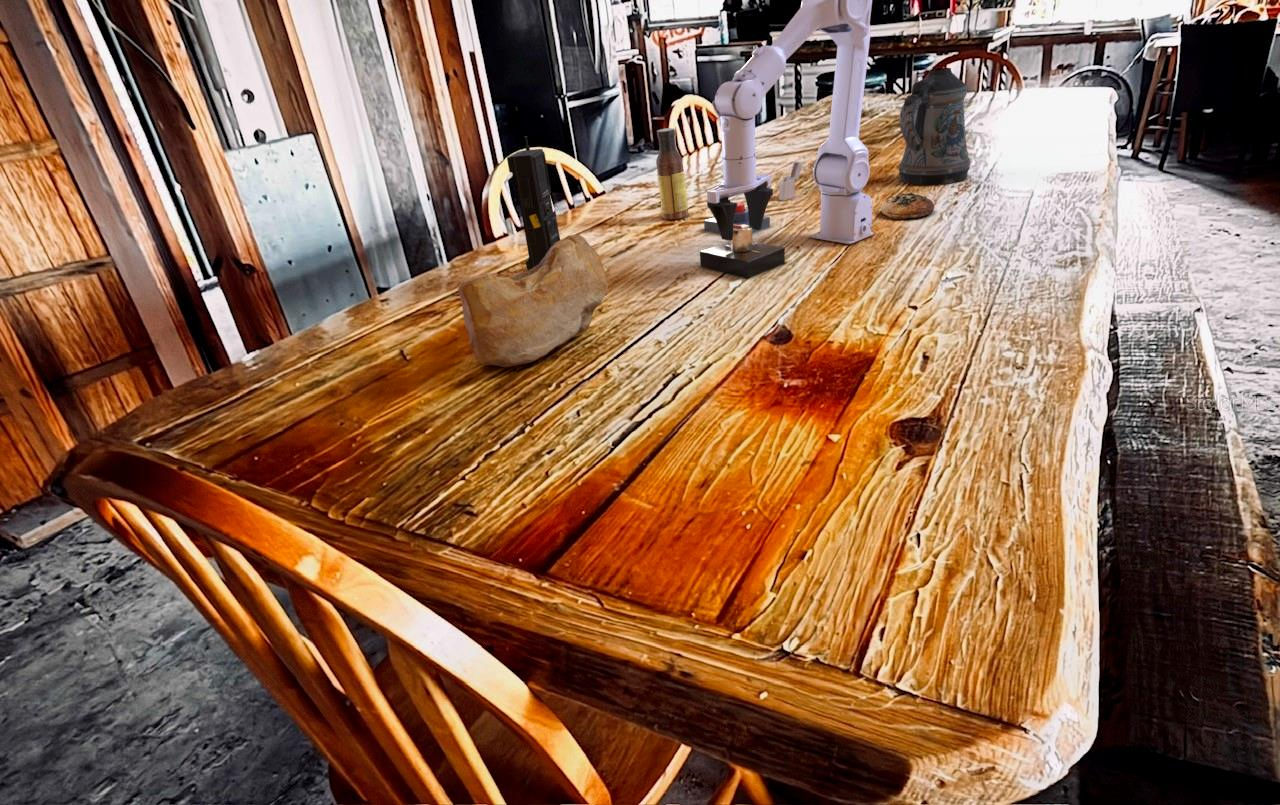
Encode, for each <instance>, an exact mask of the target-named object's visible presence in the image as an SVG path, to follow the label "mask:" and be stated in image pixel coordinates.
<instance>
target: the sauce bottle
mask: <svg viewBox="0 0 1280 805" xmlns="http://www.w3.org/2000/svg"><path fill="white" fill-rule="evenodd" d="M656 135H657V139H658V146H659V147H658V148H659V152H658V154H657V158H656V161H655V163H656V171H657V183H658V191H659V192H658V193H659V199H660V209H661V213H662V217H663V219H664V220H666V221H671V220H673V221H675V220H677V221H678V220H682V219H685V218H687V217H688V215H689V205H688V196H687V188H686V177H685V170H684V164H683V157H682V156H681V154H680V153H679V151H678V149H677V144H676V131H675V128H674V127H667V128H660V129H658V130H656Z"/></svg>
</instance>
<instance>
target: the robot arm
mask: <svg viewBox="0 0 1280 805" xmlns="http://www.w3.org/2000/svg"><path fill="white" fill-rule="evenodd" d="M872 6H873V0H801V4H800V7H799V9H798V10H797V12H796V13H795V14H794V16H793V17H792V18H791V19H790V21H789V22H788V23H787V25H786V26H785V27H784V29H783V30H782V31H781V32H780V34H779V35H778V36H777V37H776V39H774V42H773V43H772V44H771V45H762V46H760V47H756V48H755V49H754V50H753V51H752V52H751V55H752V57H750V59H749V60H748V61H747V62H746V63H745V64H744V65H743V66H742V68H740V70H736V71H735V73H734V74H733V78H732V80H730V81H725V82H724V83H722V84H721V85H720V86H719V87H718V89H717V91H716V92H715V96H714V100H712V102H711V104H712V109H713V111H714V113H715V115H716V116H717V117H718V126H719V127H720V133H721V134H720V136H721V154H722V177H723V178H722V179H723V180H721V181H720V184H719V185H717V186H716V187H713V188H712V189H709V190H707V191H706V196H707V197H706V198H707V199H706V206H707V208H708V209H709V210H710V212H711V214H712V215H713V217H714V218H715V220H716V222H717V225H718V228H719V231H720V233H719V234H720V238H721V240H724V241H730V240H732V239H733V223H734V215H735V210H736V207H737V203H734V202H735V201H734V202H733V201H731V199H730V198H734V197H736V196H739V195H742V194H743V195H744V198H745V201H746V207H748V215H749V225H750V226H752V229H755V230H760V229H761V226H762V222H763V217H764V216H765V213H766V210H767V207H768V204H769V202H770V200H771V199H772V196H773V195H774V189H773V188H772V187H771V186H772V174H766V173H761V174H757V159H756V158H757V154H756V153H757V152H756V115H758V114H759V113H760V111H761V109H762V106H763V101H764V98H765V97H766V94H767V93H768V92H769V91H770V90H771V89H772V87H773V86H774V85H775V84H776V82H778V80H779V79H780V78H781V77H782V76H783V75H784V74H785V72H786V70H787V60H788V59H789V58H790V57H791V56H792V55H793V54H794V53H795V52H796V51H797V50H798V49H799V48H800V47H801V46H802V45H803V44H804V43H805V42H806V41H807V40H808V39H809V38H810V37H811V36H812V35H813V34H814V33H815V32H816V31H817V30H819V31H821V32H822V33H824V34H825V35H827V36H829V38H830V39H831V40H832V41H833V42H834V44H835V45H836V46H837V49H836V58H835V68H834V69H835V70H834V79H833V88H832V100H831V110H830V119H829V130H828V131H829V132H828V138H827V139H826V140H825V141H824V142H823V143H821V145H820V146H819V147H818V149H817V150H818V151H817V156H816V159H815V161H814V164H813V168H812V179H813V181H814V184H816V185H817V186H818V191H819V192H820V220H819V221H820V222H819V224H820V225H819V231H817V232H816V233H812V234H811V235H810V238H813V239H815V240H816V239H817V240H823V241H828V242H834V243H838V244H845V245H852V244H854V243H857V242H860V241H861V240H864V239H866V238H869V237H872V236H873V235H874V232H873V231H872V225H873V224H872V223H873V205H874V204H873V199H872V197H871V196H870V195H869V194H866V193H863V189H864V188H865V186H866V185H867V183H868V181H869V179H870V174H871V168H870V163H869V152H870V151H869V149H868V148H867V146H866V145H865V144H864V143H863V141H861V140H860V137H859V136H860V129H861V120H862V119H861V118H862V112H863V103H864V102H863V101H864V94H865V86H866V78H867V76H866V75H867V69H868V68H867V67H868V59H869V49H870V43H871V42H870V41H871V23H870V22H871V13H872ZM760 231H761V230H760Z"/></svg>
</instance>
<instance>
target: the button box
mask: <svg viewBox="0 0 1280 805" xmlns="http://www.w3.org/2000/svg"><path fill="white" fill-rule="evenodd" d="M734 224H735V225H749V215H748V207H747V206H745V211H744V212H740V213H735V215H734V223H733V225H734ZM703 227H704V228H703V229H704V231H705V232H712V233H717V234H720V231H719V228H718V225H717V222H716V220H715V218H714V216H713V217H710V218H708V219H704V220H703ZM770 227H771V217H770V216H765V215H764V217H763V222H762V226H761V229H760V230H755V229H752V234H755V233H758V232H760V231H764V230H766V229H769V228H770Z"/></svg>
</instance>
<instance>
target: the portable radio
mask: <svg viewBox="0 0 1280 805" xmlns="http://www.w3.org/2000/svg"><path fill="white" fill-rule="evenodd" d="M524 140H525V149H524V150H520V151H517V152H515V153H513V154H511V155H509V156H507V157H506V162H507V166H508V172H509V173H512V174H513V176H514V179H515V184H516V191H517V197H518V203H519V208H520V213H521V219H522V225H523V230H524V236H525V241H526V247H527V253H528V258H527V259H526V260H525V267H526V271H528V270H530V269H532V268H534V267H535V266H537V265H538V264H539V263H540V262H541V260H542V259H543V258H544V257H545V255H546V254H547V252H548V251H549V249H550V248H551V247H552V246H553V245H554V244H555V243H556V242H558V241H560V240H561V237H560V230H559V225H558V220H557V215H556V213H555V212H554V210H553V209H554V208H553V202H552V198H551V195H552V190H551V185H550V178H549V172H548V166H547V160H546V153H545V151H544V150H543V148H534V149H531V148H530V145H529V142H528V136H527V135H526V136H524Z"/></svg>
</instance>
